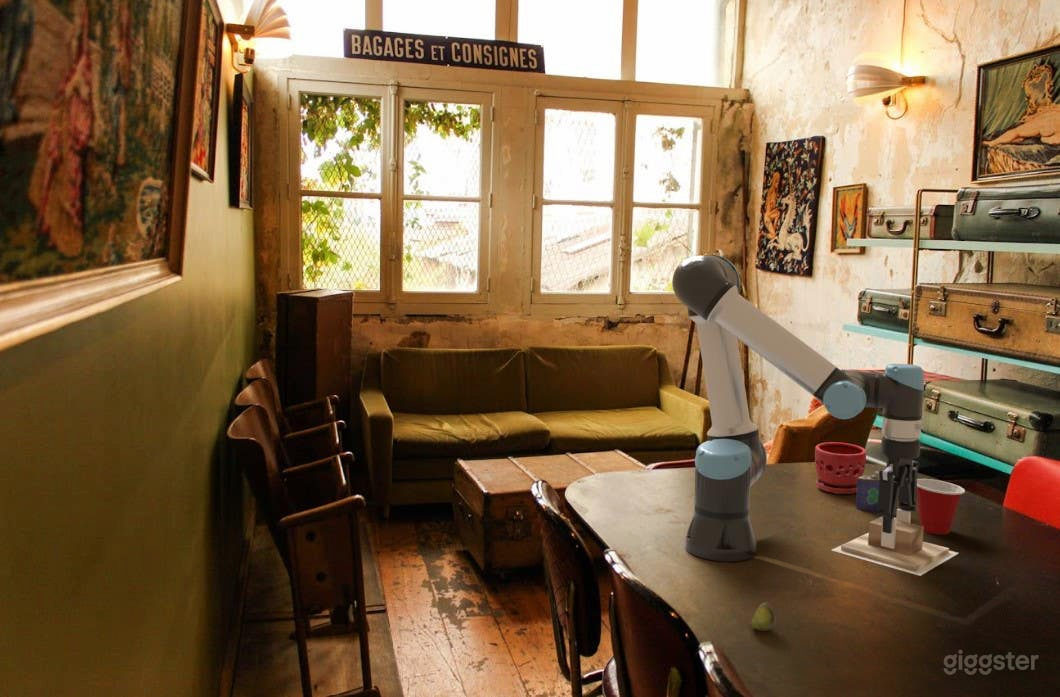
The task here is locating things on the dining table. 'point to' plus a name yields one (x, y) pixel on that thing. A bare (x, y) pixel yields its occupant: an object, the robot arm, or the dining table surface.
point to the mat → (919, 572)
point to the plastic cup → (937, 505)
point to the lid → (897, 546)
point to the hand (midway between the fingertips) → (895, 543)
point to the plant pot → (839, 466)
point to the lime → (763, 617)
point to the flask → (868, 492)
